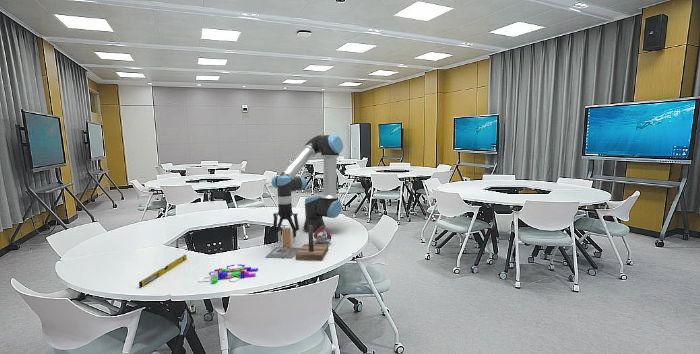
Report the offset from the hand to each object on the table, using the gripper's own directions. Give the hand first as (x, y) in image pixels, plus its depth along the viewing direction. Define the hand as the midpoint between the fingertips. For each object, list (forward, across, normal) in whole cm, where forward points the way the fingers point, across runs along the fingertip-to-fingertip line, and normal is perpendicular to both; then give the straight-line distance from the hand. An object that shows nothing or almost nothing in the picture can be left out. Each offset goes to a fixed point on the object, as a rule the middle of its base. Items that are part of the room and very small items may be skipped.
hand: (286, 242), depth 194 cm
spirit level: (+5, -49, -37) cm, 62 cm away
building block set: (+5, -16, -36) cm, 40 cm away
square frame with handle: (+4, 0, -5) cm, 7 cm away
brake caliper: (+4, +18, +11) cm, 22 cm away
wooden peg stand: (+4, +17, -8) cm, 19 cm away
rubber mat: (+4, 0, -6) cm, 7 cm away
